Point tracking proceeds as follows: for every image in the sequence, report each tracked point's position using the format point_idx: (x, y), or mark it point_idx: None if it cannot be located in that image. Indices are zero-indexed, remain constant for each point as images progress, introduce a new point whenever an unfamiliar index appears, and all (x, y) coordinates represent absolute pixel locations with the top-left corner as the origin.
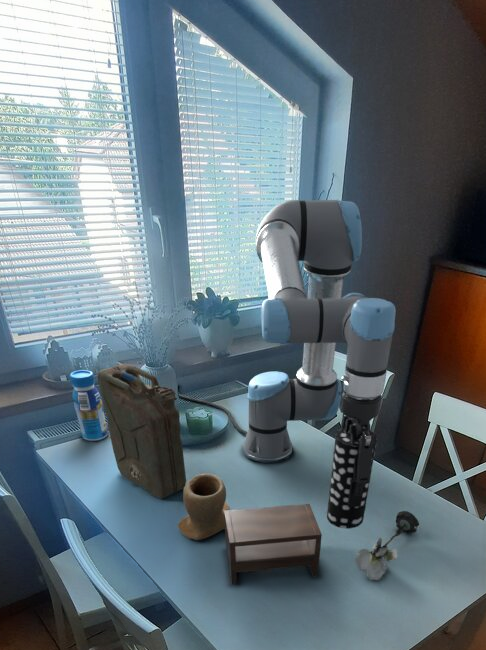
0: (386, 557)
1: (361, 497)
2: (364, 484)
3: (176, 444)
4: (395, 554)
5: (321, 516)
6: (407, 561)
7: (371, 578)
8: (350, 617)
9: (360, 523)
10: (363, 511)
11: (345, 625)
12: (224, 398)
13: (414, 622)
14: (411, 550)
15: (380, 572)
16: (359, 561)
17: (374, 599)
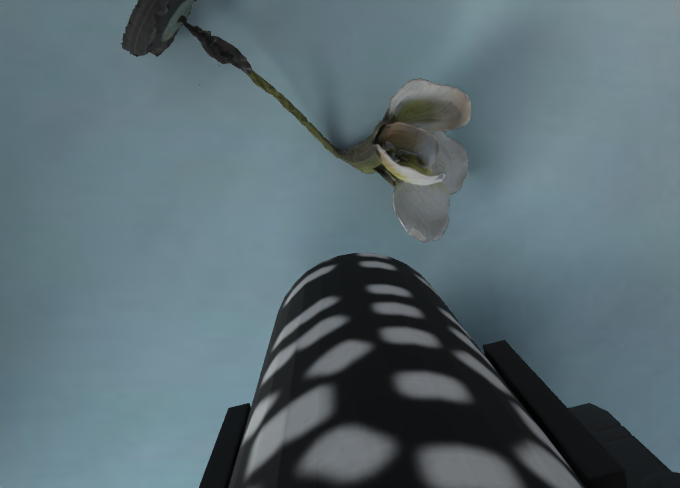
0: (414, 122)
1: (534, 375)
2: (525, 410)
3: None
4: (426, 89)
5: (131, 334)
6: (359, 32)
7: (465, 174)
8: (633, 246)
9: (415, 271)
10: (420, 284)
11: (664, 261)
12: None
13: (663, 47)
14: (291, 7)
15: (442, 142)
16: (428, 222)
17: (558, 169)
